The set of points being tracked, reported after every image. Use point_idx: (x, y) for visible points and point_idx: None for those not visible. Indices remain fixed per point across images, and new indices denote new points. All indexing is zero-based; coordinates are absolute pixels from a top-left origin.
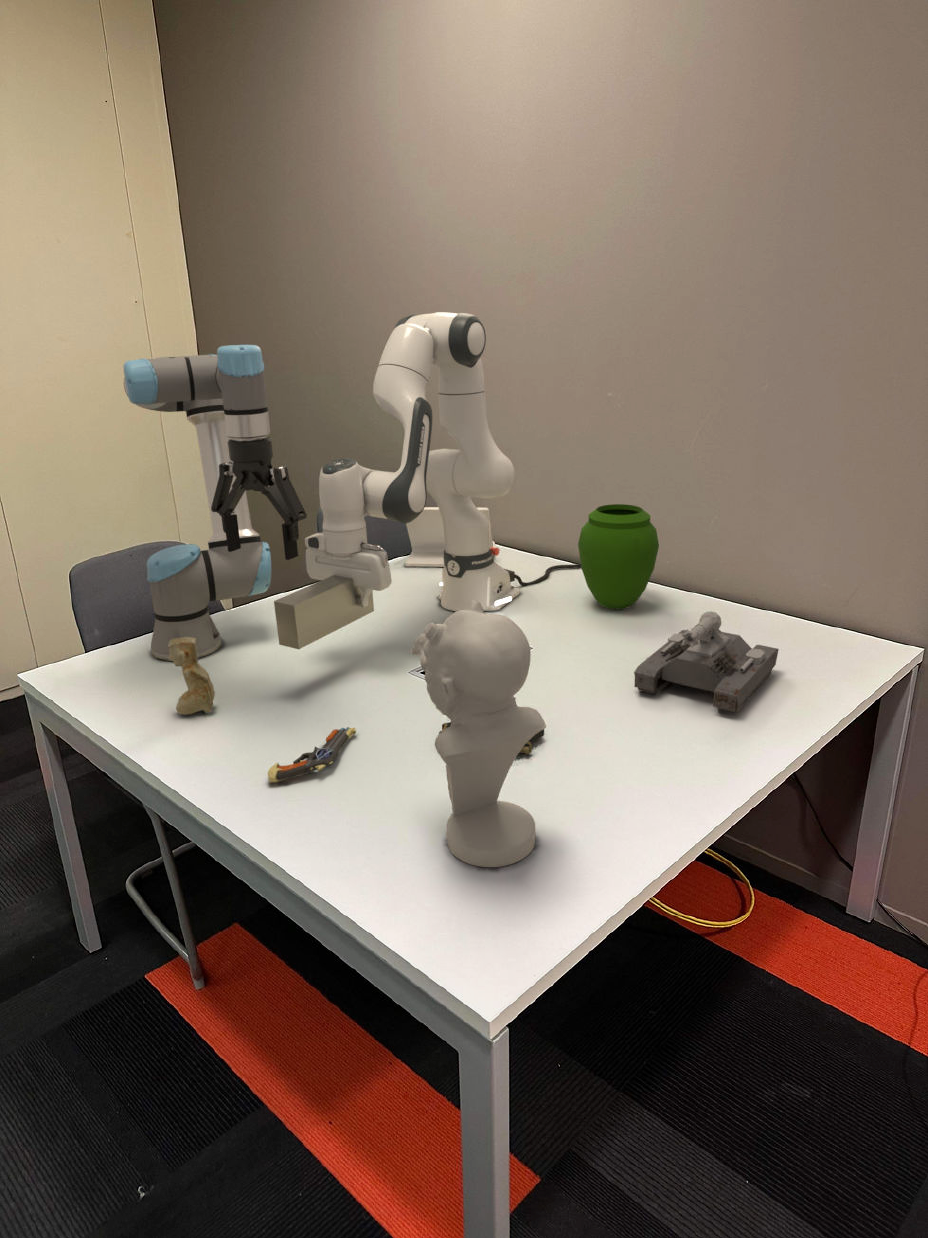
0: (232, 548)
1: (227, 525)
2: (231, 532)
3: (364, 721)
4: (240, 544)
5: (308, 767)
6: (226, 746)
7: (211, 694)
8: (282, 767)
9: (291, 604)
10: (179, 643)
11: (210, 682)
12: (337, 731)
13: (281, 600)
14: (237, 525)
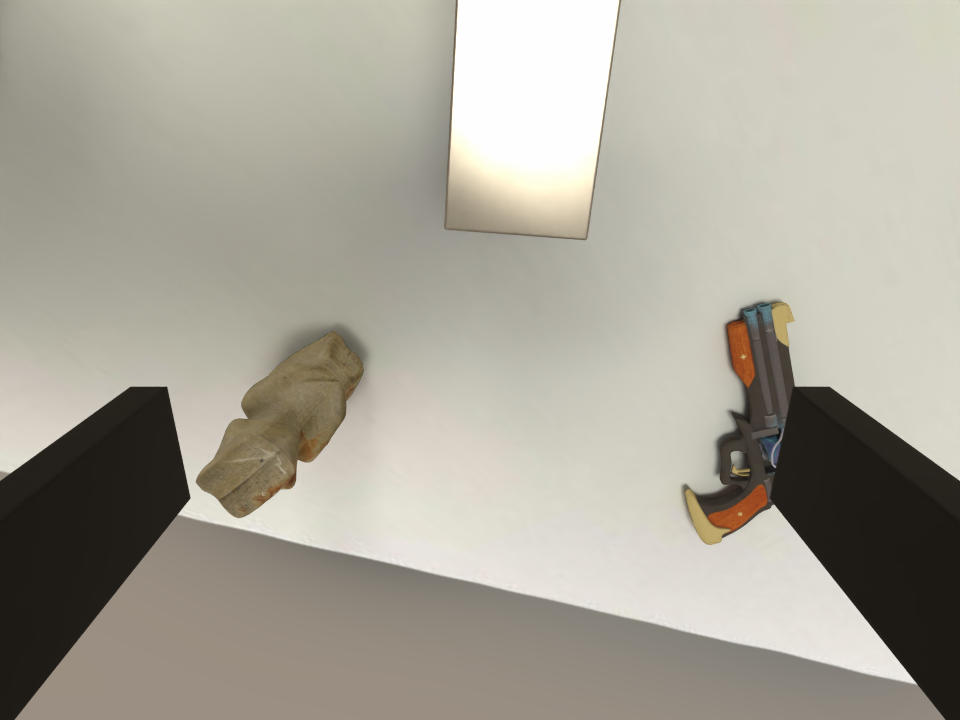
0: (173, 492)
1: (22, 704)
2: (81, 587)
3: (766, 225)
4: (149, 402)
5: None
6: (515, 456)
7: (359, 375)
8: (722, 518)
9: (568, 235)
10: (261, 503)
11: (339, 373)
12: (748, 334)
13: (478, 206)
14: (4, 528)
